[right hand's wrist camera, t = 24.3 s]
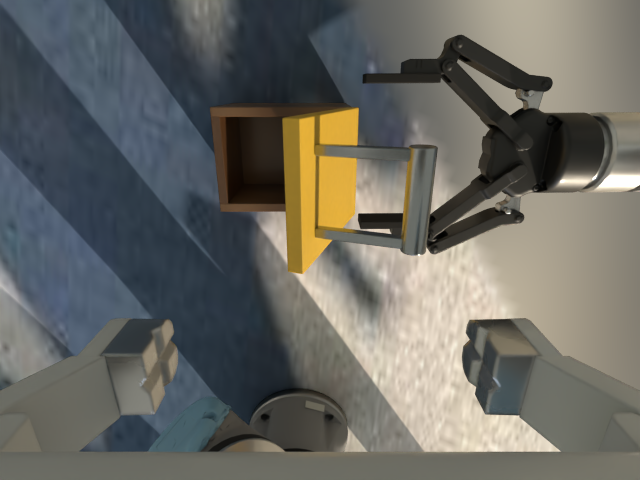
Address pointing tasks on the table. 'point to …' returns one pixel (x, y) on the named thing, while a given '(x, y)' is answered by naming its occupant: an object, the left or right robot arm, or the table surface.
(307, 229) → the lid
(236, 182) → the chest
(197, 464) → the right robot arm
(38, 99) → the table surface
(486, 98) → the left robot arm
